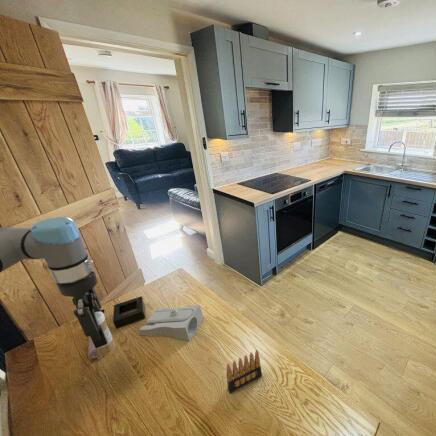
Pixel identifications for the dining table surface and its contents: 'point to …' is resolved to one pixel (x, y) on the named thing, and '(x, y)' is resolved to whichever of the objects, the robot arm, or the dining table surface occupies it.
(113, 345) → the sprinkles bottle
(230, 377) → the ammunition clip
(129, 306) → the bottle holder
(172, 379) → the dining table surface
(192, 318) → the wedge sharpener
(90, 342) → the coil
